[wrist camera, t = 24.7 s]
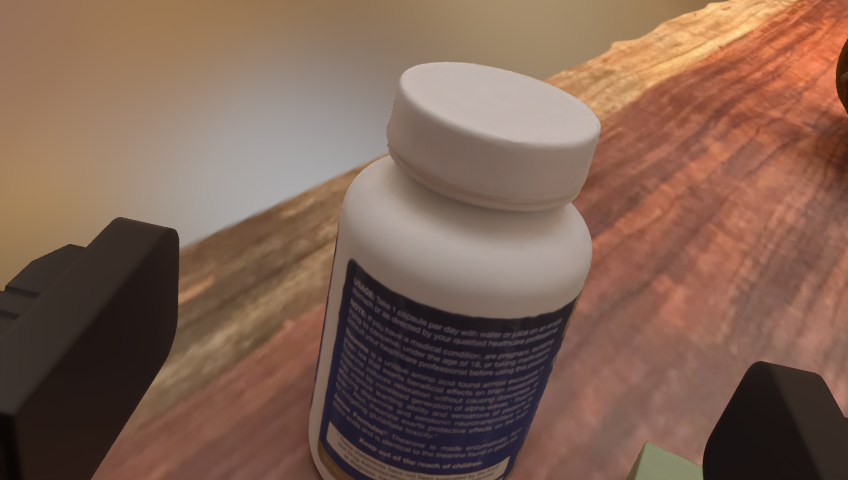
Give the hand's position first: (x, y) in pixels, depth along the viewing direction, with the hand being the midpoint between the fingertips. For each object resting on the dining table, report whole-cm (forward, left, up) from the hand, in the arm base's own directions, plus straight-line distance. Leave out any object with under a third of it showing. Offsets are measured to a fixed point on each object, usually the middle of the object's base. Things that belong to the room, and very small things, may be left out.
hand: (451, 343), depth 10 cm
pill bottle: (-2, +5, -8) cm, 10 cm away
